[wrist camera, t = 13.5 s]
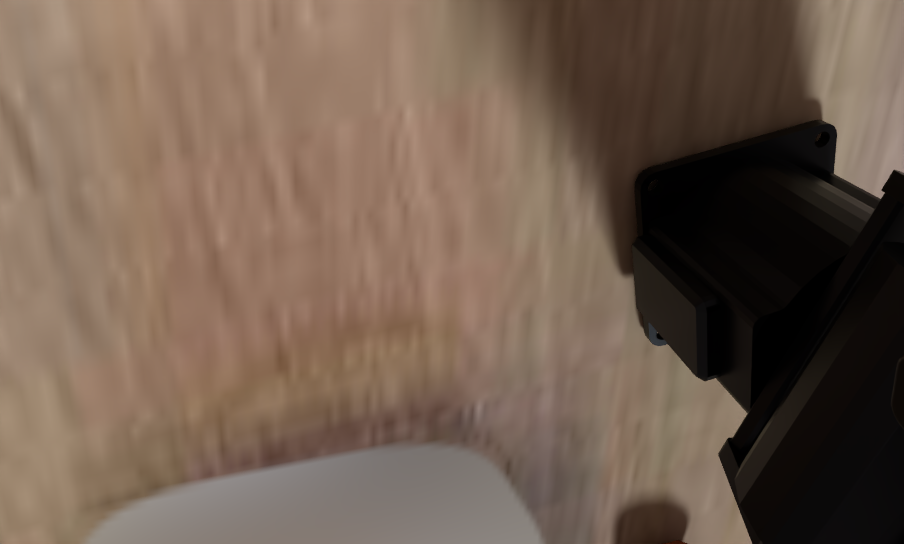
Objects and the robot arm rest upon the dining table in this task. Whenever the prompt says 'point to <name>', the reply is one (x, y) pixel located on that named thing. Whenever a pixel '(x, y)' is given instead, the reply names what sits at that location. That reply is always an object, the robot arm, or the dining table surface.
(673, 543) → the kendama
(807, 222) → the robot arm
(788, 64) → the dining table surface
